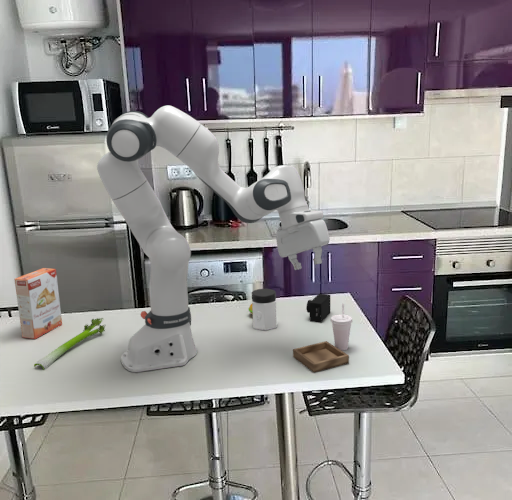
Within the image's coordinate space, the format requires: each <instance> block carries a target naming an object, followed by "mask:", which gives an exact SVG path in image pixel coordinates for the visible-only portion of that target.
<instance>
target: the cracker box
mask: <svg viewBox="0 0 512 500" xmlns="http://www.w3.org/2000/svg"><path fill="white" fill-rule="evenodd" d="M13 281H14V286H15V293H16V300H17V308H18V314H19V315H18V316H19V323H20V329H21V336H22V338H23V339H31V340H36V339H38V338H40V337H42V336H44V335H46V334H48V333H50V332H51V331H53V330H55V329H56V327H57V328H58V326H59V327H60V326H62V325H63V320H62V312H61V310H62V309H61V302H60V301H61V300H60V294H59V285H58V276H57V269H56V268H51V267H50V268H48V267H42V268H39V269H37V270H35V271H32V272H29V273H26V274H23V275H20V276H19V277H16V278H14V280H13ZM54 328H55V329H54ZM45 333H46V334H45ZM43 334H44V335H43Z"/></svg>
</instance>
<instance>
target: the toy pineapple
mask: <svg viewBox="0 0 512 500" xmlns="http://www.w3.org/2000/svg"><path fill="white" fill-rule="evenodd" d="M248 312H249V313H250V314H251V315H252V316H253V308H252V303H250V305H249V307H248Z"/></svg>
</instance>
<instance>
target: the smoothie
mask: <svg viewBox="0 0 512 500" xmlns="http://www.w3.org/2000/svg"><path fill="white" fill-rule="evenodd" d="M341 307H342V308H341V309H342V311H341V312H342V313H341V314H333V315H332V316H331V317H330V322H331V326H332V333H333V340H334V346H335V347H337V348H338V349H340V350H341V351H343V352H344V351H347V350H348V348H349V342H350V335H351V326H352V323H353V317H352V316H351V315H348V314H345V304H344V303H342V306H341Z"/></svg>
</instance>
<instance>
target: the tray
mask: <svg viewBox="0 0 512 500" xmlns="http://www.w3.org/2000/svg"><path fill="white" fill-rule="evenodd" d="M292 358H294V359H295V360H296V361H298V363H300V364H302V366H303V367H306V368H307V369H308V370H309V371H311V373H314V374H315V373H318V372H322V371H326V370H330V369H334V368H337V367H341V366H345V365H349V363H350V355H349V354H348V353H346V352H344V350H343V351H341V350H340V349H338V348H337V347H335V345H334V344H332V343H331V342H329V341H322V342H317V343H313V344H308V345H305V346H301V347H300V346H299V347H297V348H293V349H292Z"/></svg>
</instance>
